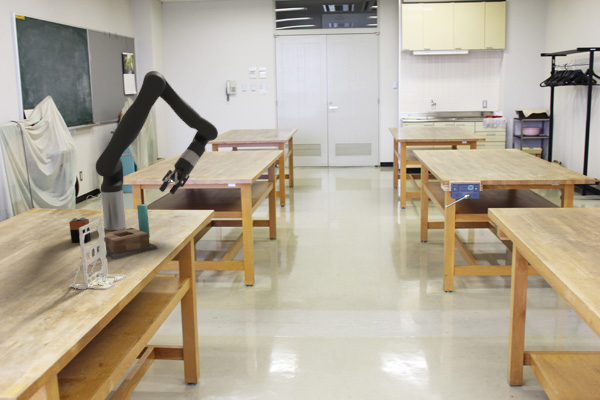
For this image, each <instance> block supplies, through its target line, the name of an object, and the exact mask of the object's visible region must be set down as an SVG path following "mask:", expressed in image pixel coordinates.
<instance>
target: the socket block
mask: <svg viewBox="0 0 600 400" xmlns="http://www.w3.org/2000/svg"><path fill="white" fill-rule="evenodd" d="M104 233H105V238H104V242H105V244H106V257H108V258H110V259H112V260H117V259H120V258H125V257H130V256H132V255H137V254H141V253H145V252H150V251H155V250H158V245H155V244H153V243H151V242H150V241H151V240H150V238H149V234H150V232H149V233H146V232H143V231H140V230H139V229H136V228H133V227H129V228H124V229H120V230H113V231H109V232H104ZM99 247H100V246H98V247H97V253H98V252H99ZM92 250H93V251H94V249H92Z"/></svg>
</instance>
